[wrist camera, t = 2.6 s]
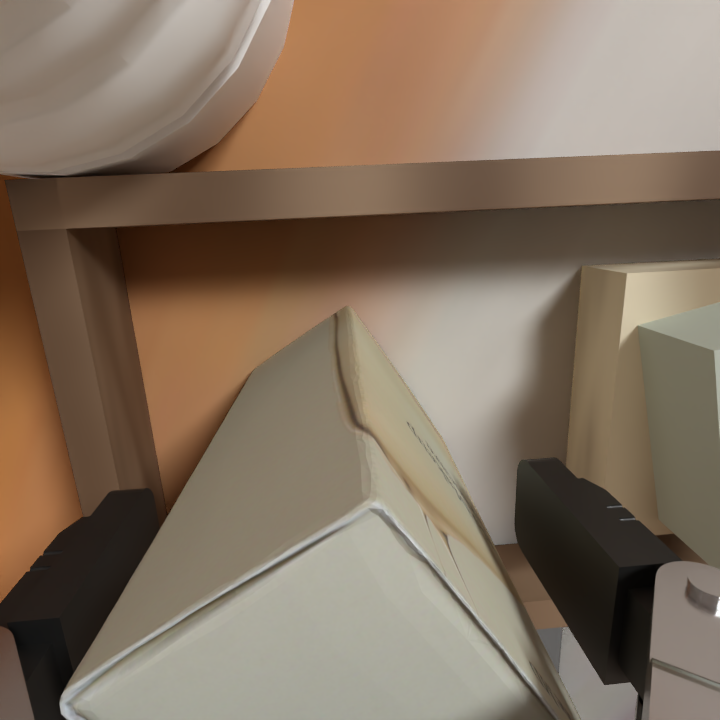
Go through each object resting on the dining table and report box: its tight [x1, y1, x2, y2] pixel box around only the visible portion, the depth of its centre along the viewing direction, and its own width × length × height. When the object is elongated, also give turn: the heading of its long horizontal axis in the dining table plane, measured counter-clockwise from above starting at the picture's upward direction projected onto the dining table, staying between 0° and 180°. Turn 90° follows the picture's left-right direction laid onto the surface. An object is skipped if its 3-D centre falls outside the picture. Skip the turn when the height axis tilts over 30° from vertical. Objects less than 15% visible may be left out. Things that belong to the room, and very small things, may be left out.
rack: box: [5, 151, 720, 630], centre depth 16 cm, size 24×15×3 cm, turn 93°
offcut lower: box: [566, 258, 720, 535], centre depth 17 cm, size 7×9×3 cm
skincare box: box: [60, 306, 581, 720], centre depth 11 cm, size 6×4×12 cm
